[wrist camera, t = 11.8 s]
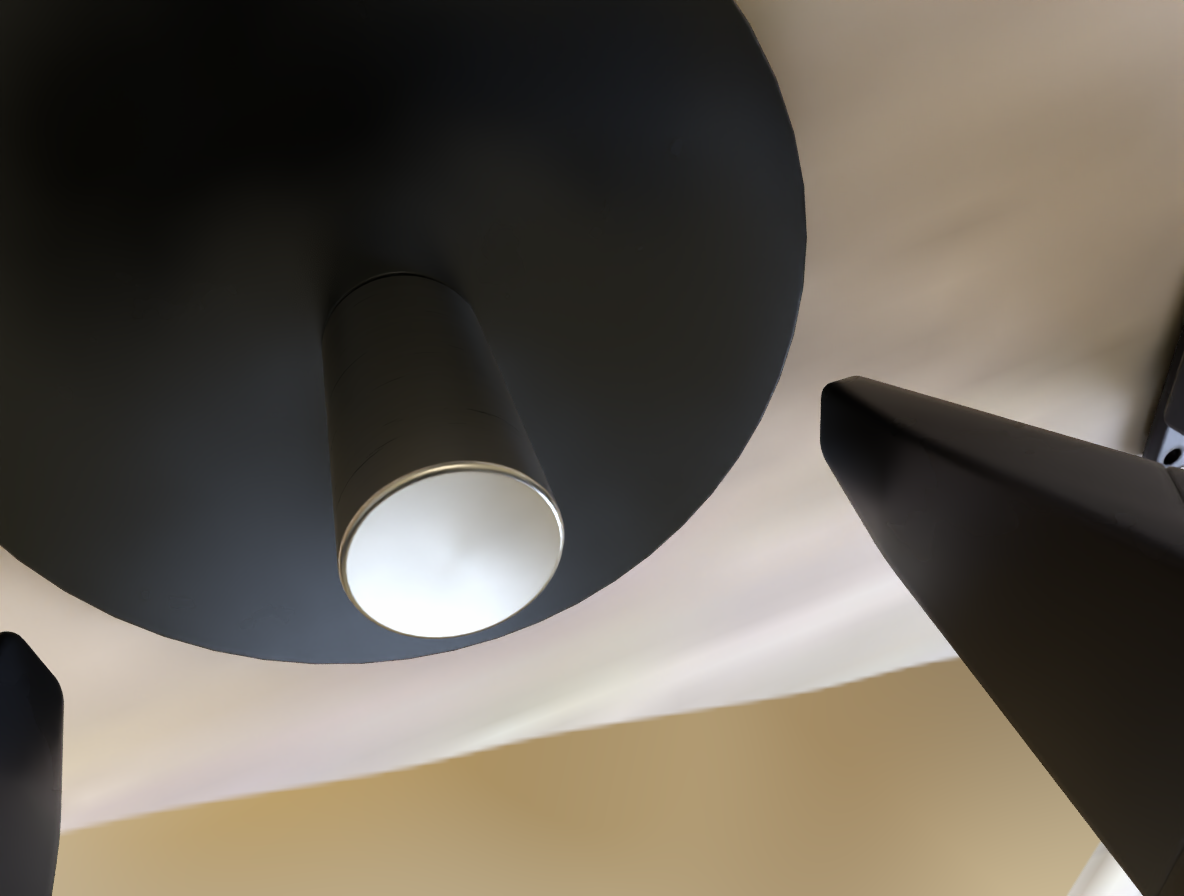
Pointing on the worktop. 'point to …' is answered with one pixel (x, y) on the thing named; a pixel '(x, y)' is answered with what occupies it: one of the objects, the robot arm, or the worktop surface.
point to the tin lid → (380, 305)
